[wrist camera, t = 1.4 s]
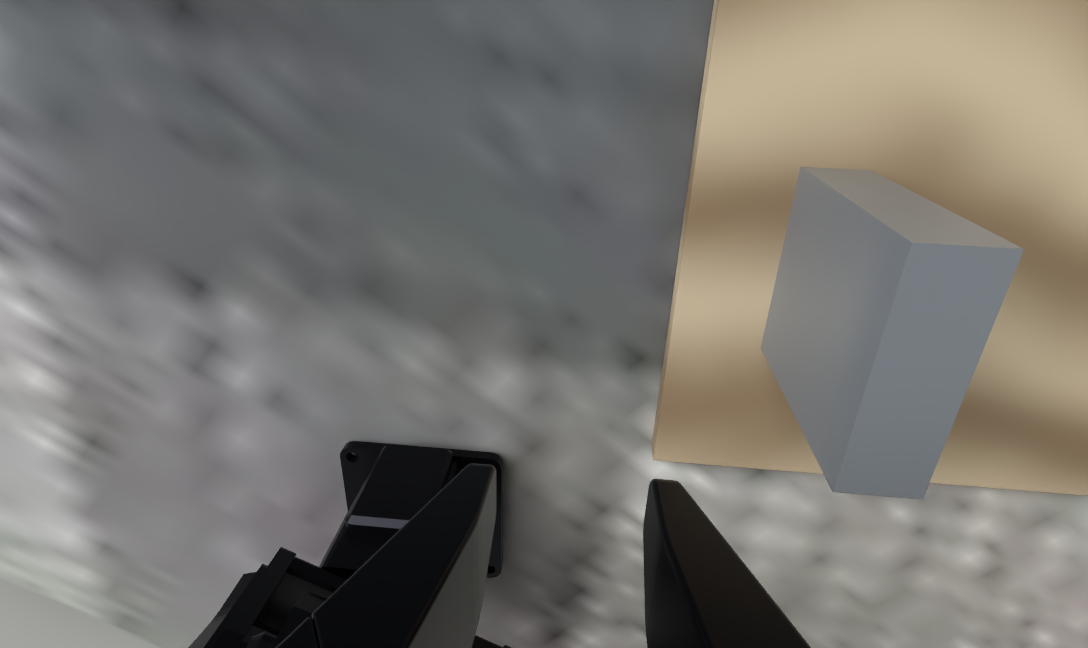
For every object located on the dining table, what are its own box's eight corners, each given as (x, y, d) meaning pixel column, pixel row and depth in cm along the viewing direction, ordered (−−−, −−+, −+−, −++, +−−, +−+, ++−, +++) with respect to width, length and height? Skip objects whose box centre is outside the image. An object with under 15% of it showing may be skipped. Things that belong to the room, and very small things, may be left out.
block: (826, 352, 20) (929, 500, 14) (760, 348, 20) (832, 491, 14) (876, 170, 17) (1032, 249, 11) (800, 166, 17) (912, 242, 11)
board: (1087, 482, 22) (1103, 496, 21) (651, 446, 23) (653, 460, 22) (1415, -111, 14) (1458, -118, 14) (731, -125, 15) (737, -132, 15)
